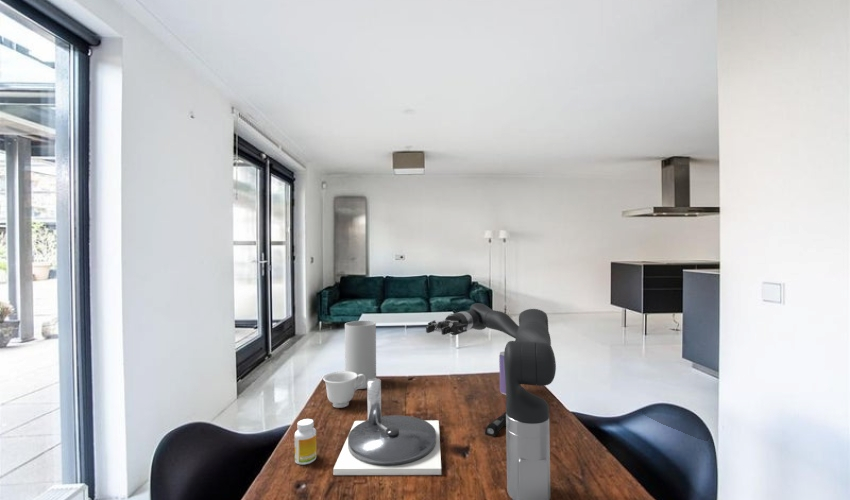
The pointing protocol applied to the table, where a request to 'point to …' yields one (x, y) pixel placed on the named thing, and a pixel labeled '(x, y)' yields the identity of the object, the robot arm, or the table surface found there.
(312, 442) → the supplement bottle
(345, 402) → the teacup
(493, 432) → the electric trimmer
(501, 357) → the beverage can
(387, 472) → the dial base plate
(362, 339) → the cylinder vase
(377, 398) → the dial
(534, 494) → the robot arm
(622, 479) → the table surface
